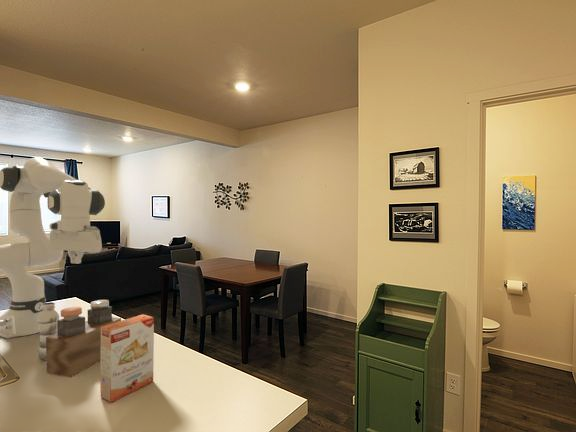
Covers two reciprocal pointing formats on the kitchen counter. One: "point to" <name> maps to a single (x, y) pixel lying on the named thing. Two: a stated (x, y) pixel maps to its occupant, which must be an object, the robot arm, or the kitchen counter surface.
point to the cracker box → (126, 356)
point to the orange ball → (71, 313)
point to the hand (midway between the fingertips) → (75, 263)
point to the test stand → (77, 343)
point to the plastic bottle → (47, 326)
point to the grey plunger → (99, 304)
